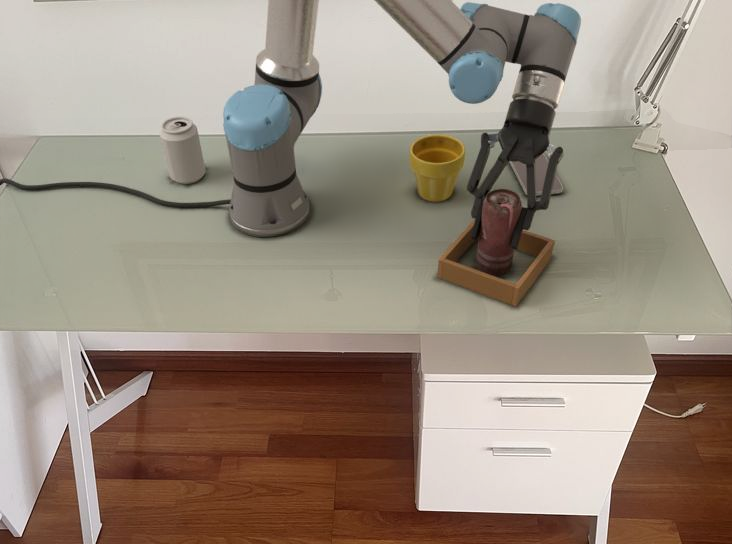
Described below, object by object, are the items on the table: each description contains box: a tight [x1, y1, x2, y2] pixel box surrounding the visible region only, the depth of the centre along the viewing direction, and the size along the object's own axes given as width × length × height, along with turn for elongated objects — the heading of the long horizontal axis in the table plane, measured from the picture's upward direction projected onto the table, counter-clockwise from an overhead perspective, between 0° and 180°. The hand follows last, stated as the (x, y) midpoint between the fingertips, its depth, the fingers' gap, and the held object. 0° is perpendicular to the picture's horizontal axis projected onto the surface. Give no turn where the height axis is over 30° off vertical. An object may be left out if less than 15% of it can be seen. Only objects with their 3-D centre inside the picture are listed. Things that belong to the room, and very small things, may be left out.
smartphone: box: [508, 152, 564, 197], centre depth 150 cm, size 7×1×15 cm
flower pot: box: [409, 133, 466, 203], centre depth 145 cm, size 10×10×10 cm
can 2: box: [475, 188, 523, 277], centre depth 126 cm, size 6×6×14 cm
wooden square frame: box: [437, 218, 556, 308], centre depth 130 cm, size 15×15×4 cm
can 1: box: [159, 116, 207, 185], centre depth 153 cm, size 8×8×12 cm
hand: (493, 242), depth 125 cm, fingers closed on can 2, 6 cm apart
